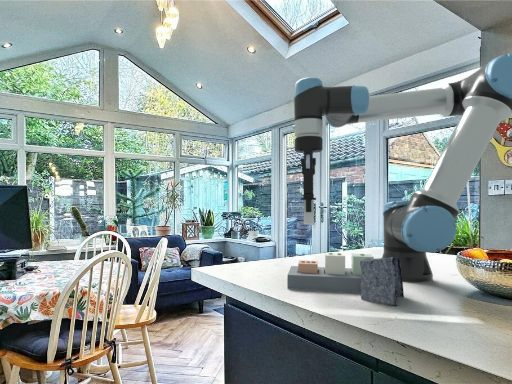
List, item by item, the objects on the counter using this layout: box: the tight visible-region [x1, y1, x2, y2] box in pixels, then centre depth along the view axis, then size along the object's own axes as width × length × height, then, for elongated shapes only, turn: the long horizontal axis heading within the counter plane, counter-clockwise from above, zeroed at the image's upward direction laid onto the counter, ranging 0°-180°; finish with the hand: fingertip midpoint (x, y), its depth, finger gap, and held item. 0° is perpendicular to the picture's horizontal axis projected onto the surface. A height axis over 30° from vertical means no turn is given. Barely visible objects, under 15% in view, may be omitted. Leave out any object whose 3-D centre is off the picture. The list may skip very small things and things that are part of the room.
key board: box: [286, 265, 362, 294], centre depth 92 cm, size 24×12×4 cm, turn 80°
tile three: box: [297, 259, 319, 274], centre depth 93 cm, size 5×5×5 cm
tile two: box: [324, 252, 346, 275], centre depth 92 cm, size 5×5×5 cm
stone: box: [360, 257, 405, 307], centre depth 80 cm, size 12×10×10 cm
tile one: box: [351, 253, 375, 275], centre depth 91 cm, size 5×5×5 cm
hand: (308, 224), depth 93 cm, fingers closed
